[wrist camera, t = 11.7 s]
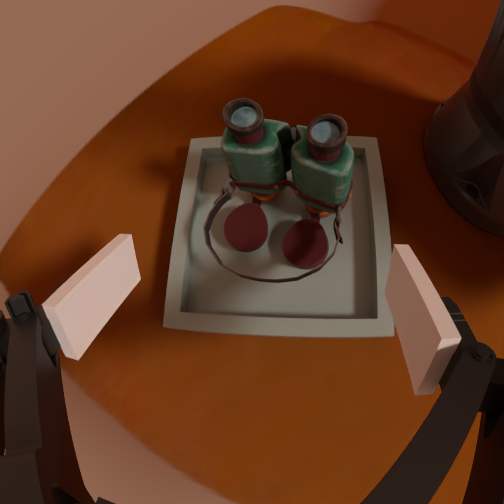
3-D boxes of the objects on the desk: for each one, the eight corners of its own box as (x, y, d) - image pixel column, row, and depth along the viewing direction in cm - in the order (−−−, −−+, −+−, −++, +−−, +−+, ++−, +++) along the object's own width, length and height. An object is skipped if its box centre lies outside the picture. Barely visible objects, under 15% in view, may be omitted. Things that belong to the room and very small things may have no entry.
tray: (371, 154, 26) (376, 137, 24) (384, 337, 21) (393, 335, 19) (198, 154, 28) (191, 138, 26) (175, 329, 24) (162, 326, 21)
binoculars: (147, 236, 14) (219, 74, 16) (211, 271, 24) (250, 158, 26) (337, 294, 12) (379, 102, 14) (323, 305, 22) (355, 183, 24)
